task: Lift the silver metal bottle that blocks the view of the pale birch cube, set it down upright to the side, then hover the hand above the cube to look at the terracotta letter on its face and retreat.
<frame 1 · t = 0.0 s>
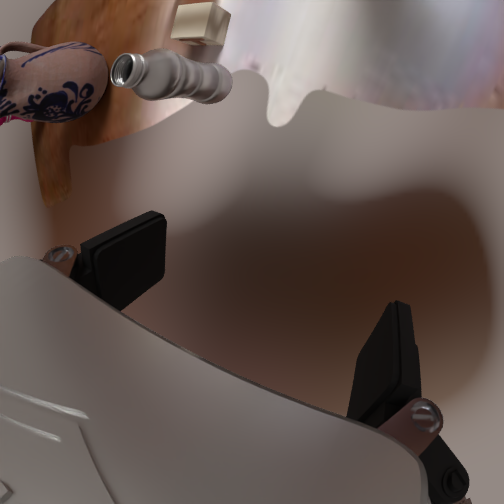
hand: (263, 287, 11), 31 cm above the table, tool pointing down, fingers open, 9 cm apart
silver metal bottle: (218, 85, 38), on the table
ceramic pitcher: (93, 76, 45), on the table
pepper mill: (44, 107, 55), on the table
letter cube: (211, 29, 34), on the table
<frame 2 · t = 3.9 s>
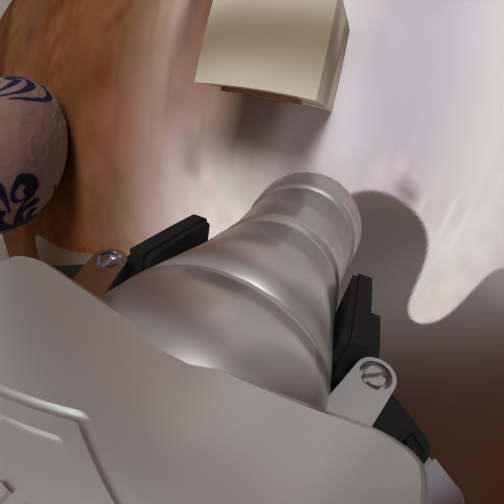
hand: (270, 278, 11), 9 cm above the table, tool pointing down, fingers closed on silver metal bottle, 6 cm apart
silver metal bottle: (312, 215, 19), on the table, touching gripper
ceramic pitcher: (49, 130, 26), on the table
letter cube: (295, 59, 15), on the table
when the fingers open (10 cm above the table, at t = 11.7 s): silver metal bottle drops 1 cm, on the table.
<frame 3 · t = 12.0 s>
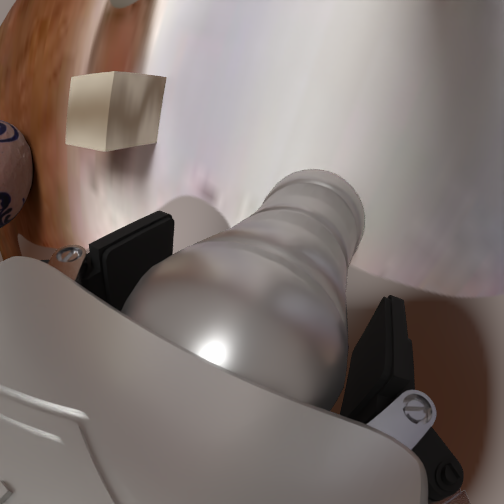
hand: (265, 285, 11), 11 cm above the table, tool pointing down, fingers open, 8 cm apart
silver metal bottle: (319, 209, 20), on the table
ceramic pitcher: (22, 155, 33), on the table
letter cube: (137, 108, 22), on the table
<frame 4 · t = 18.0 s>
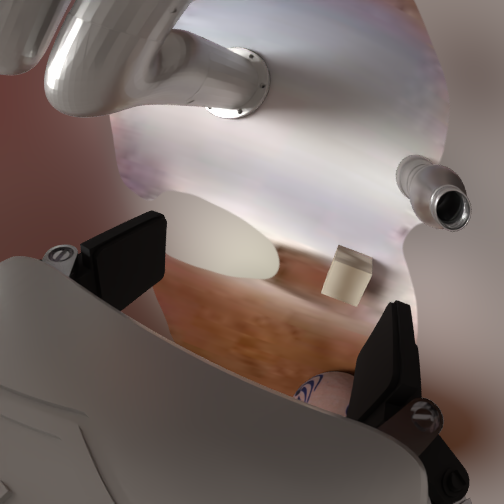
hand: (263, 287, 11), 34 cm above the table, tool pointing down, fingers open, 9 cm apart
silver metal bottle: (414, 175, 35), on the table
ceramic pitcher: (330, 386, 57), on the table
letter cube: (349, 266, 45), on the table
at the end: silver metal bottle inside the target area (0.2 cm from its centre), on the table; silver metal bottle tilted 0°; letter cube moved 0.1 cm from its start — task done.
